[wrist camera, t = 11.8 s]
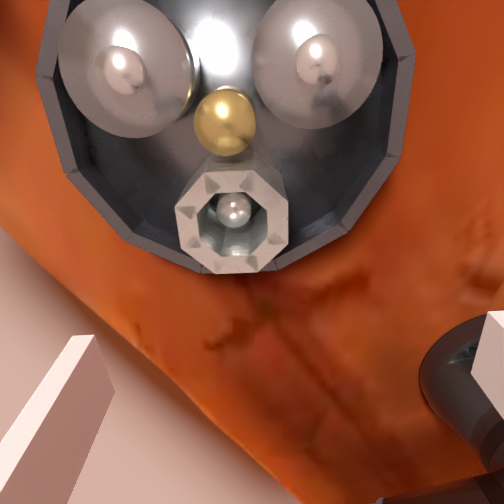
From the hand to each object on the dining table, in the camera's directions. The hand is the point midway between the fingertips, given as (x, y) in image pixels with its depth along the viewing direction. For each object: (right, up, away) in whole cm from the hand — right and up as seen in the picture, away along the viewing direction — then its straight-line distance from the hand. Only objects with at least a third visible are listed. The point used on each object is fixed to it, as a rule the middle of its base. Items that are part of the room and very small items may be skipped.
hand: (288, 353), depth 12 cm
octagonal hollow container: (-3, +8, +16) cm, 18 cm away
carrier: (-3, +14, +14) cm, 20 cm away
